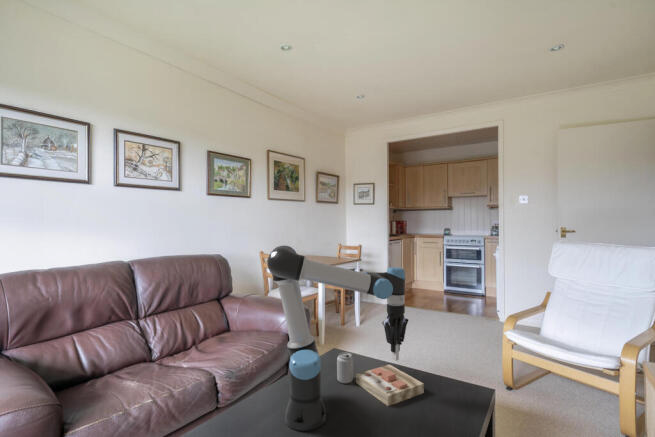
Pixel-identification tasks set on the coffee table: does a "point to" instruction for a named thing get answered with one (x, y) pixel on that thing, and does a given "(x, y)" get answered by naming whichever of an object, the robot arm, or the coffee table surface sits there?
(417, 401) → the coffee table surface
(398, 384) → the button
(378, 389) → the board
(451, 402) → the coffee table surface
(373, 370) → the button
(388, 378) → the button
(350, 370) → the can
